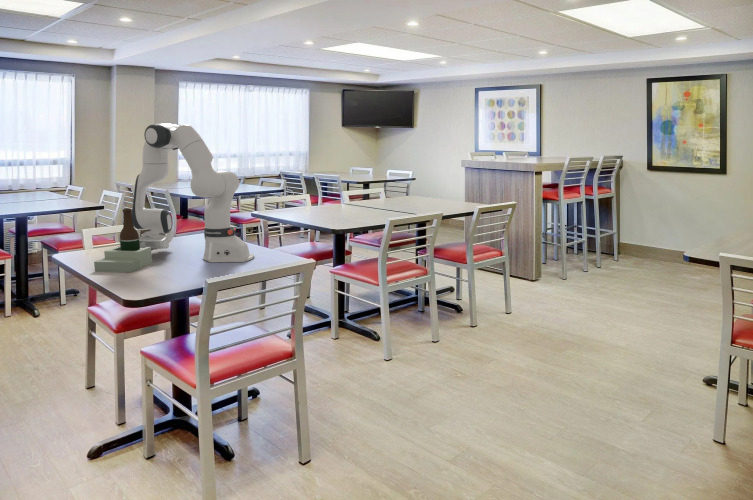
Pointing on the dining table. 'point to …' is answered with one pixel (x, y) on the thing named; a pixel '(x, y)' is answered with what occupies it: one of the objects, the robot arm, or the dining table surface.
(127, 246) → the beer bottle
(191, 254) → the dining table surface
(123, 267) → the block
